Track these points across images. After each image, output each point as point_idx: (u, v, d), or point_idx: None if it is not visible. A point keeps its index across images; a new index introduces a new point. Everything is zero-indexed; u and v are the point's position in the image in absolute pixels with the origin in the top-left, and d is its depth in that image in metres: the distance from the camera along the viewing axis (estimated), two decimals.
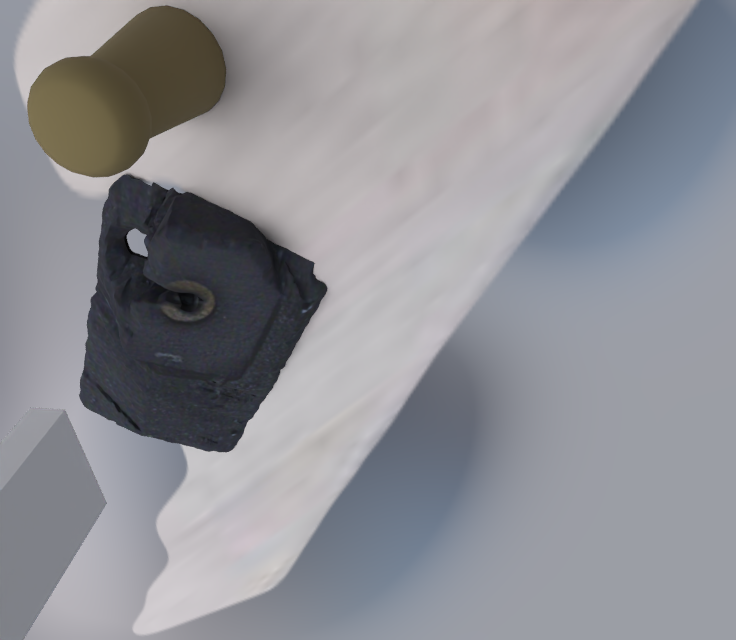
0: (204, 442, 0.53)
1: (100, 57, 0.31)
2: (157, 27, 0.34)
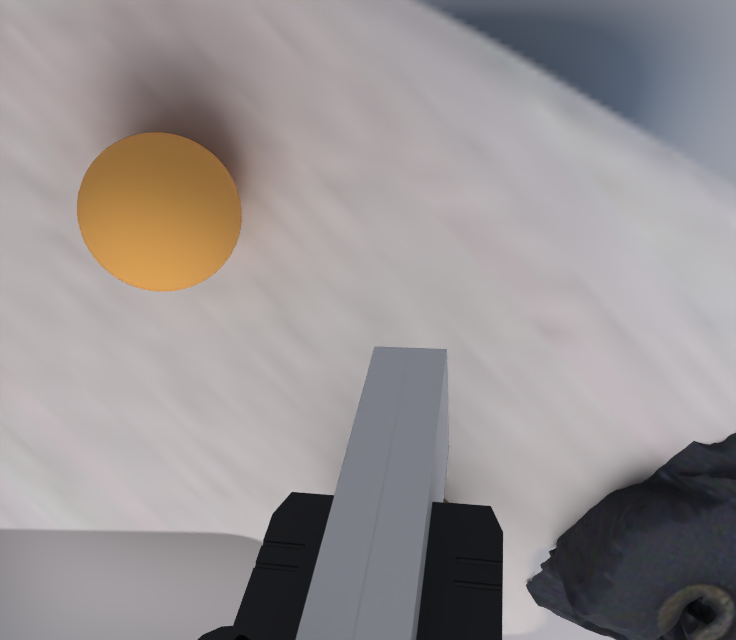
0: None
1: None
2: None
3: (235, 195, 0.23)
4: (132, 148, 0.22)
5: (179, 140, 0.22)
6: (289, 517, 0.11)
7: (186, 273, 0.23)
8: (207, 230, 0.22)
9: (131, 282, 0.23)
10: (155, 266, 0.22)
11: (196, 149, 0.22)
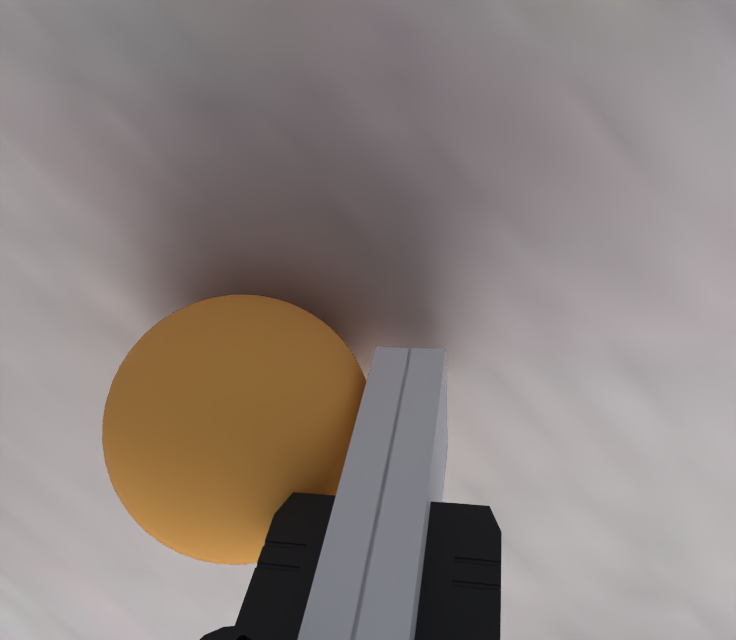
0: None
1: None
2: None
3: (345, 455, 0.13)
4: (183, 342, 0.12)
5: (272, 341, 0.12)
6: (290, 517, 0.11)
7: (219, 562, 0.13)
8: (254, 525, 0.12)
9: None
10: (166, 542, 0.13)
11: (293, 365, 0.12)
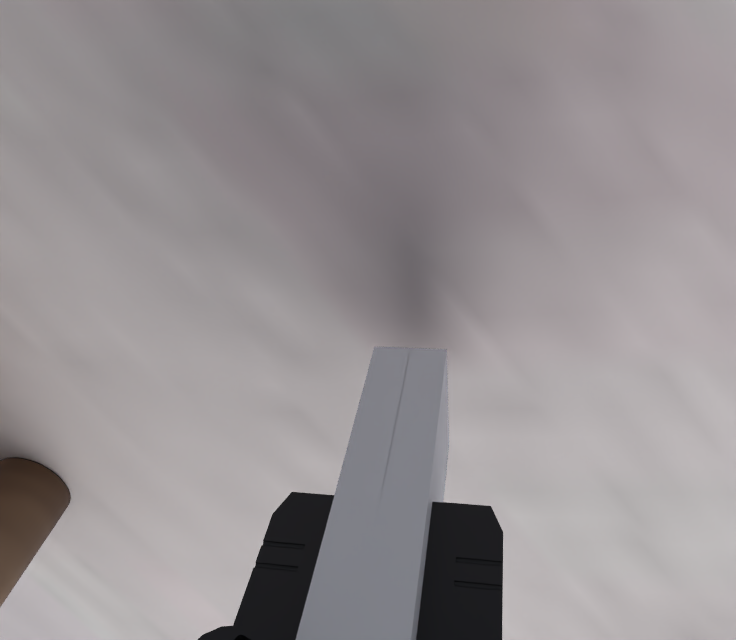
0: None
1: None
2: None
3: None
4: None
5: None
6: (288, 517, 0.11)
7: None
8: None
9: None
10: None
11: None
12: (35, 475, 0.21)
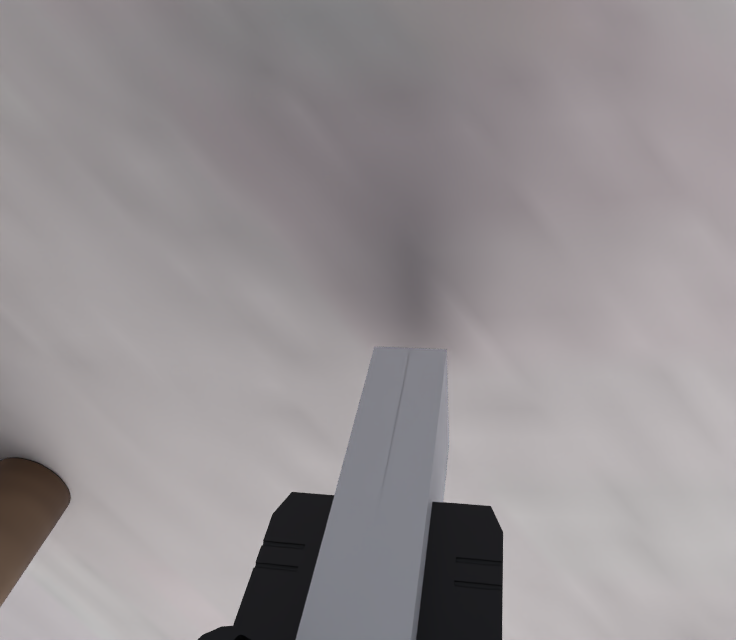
0: None
1: None
2: None
3: None
4: None
5: None
6: (288, 517, 0.11)
7: None
8: None
9: None
10: None
11: None
12: (35, 475, 0.21)
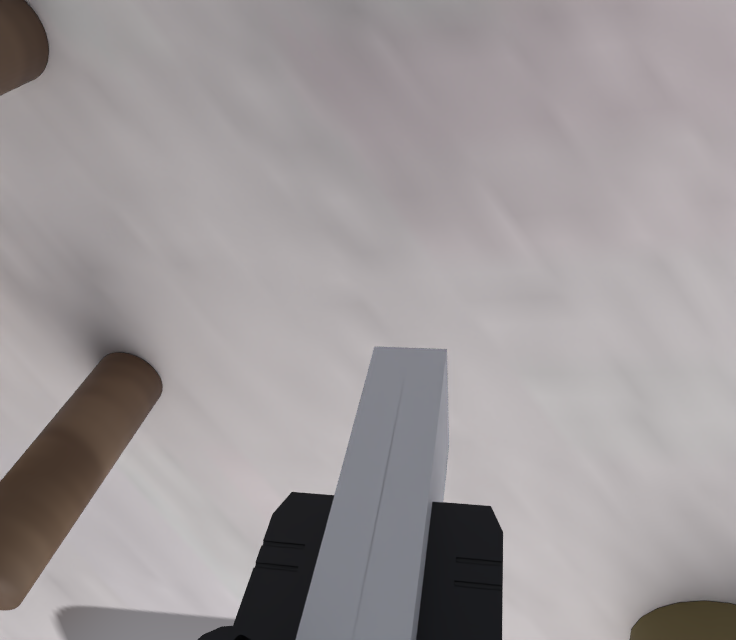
0: None
1: None
2: None
3: None
4: None
5: None
6: (289, 517, 0.11)
7: None
8: None
9: None
10: None
11: None
12: (137, 366, 0.25)
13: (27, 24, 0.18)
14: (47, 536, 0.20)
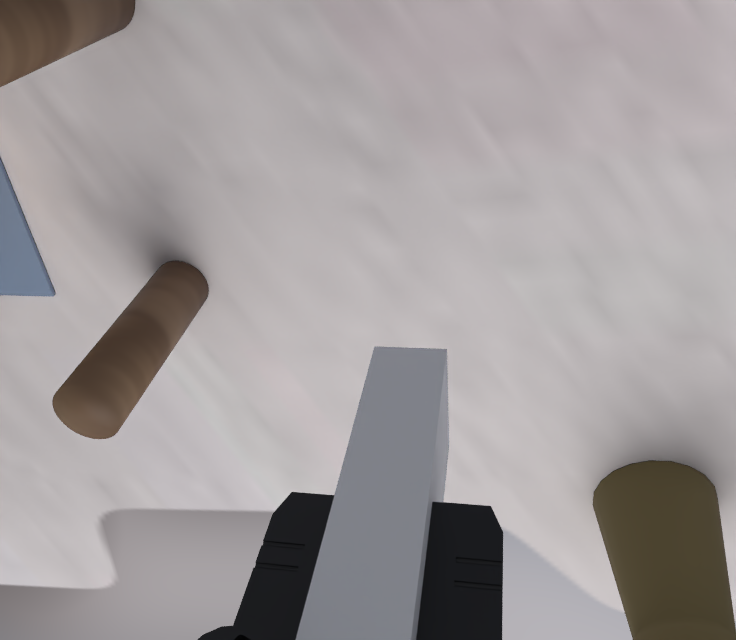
0: None
1: (631, 624, 0.30)
2: (613, 529, 0.33)
3: None
4: None
5: None
6: (288, 517, 0.11)
7: None
8: None
9: None
10: None
11: None
12: (189, 270, 0.31)
13: None
14: (135, 382, 0.26)
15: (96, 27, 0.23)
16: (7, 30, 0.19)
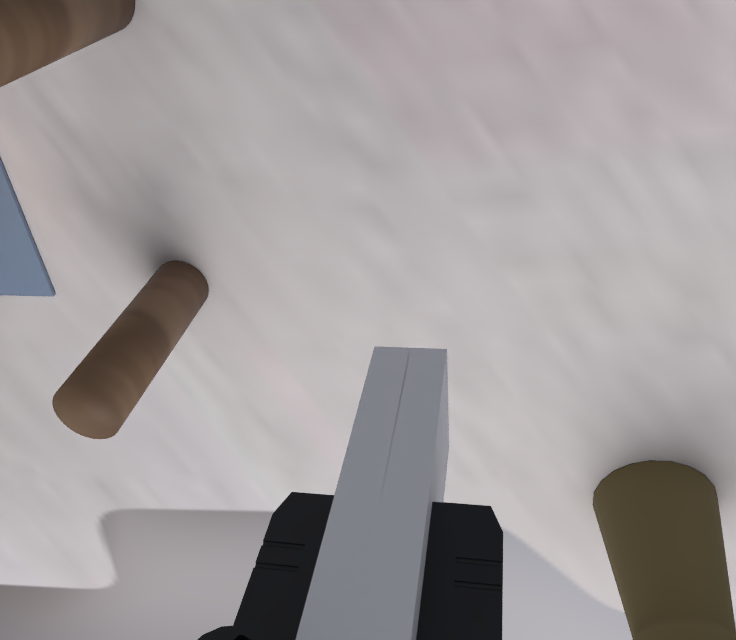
0: None
1: (631, 624, 0.30)
2: (613, 529, 0.33)
3: None
4: None
5: None
6: (289, 517, 0.11)
7: None
8: None
9: None
10: None
11: None
12: (189, 270, 0.31)
13: None
14: (135, 382, 0.26)
15: (96, 27, 0.23)
16: (7, 30, 0.19)
